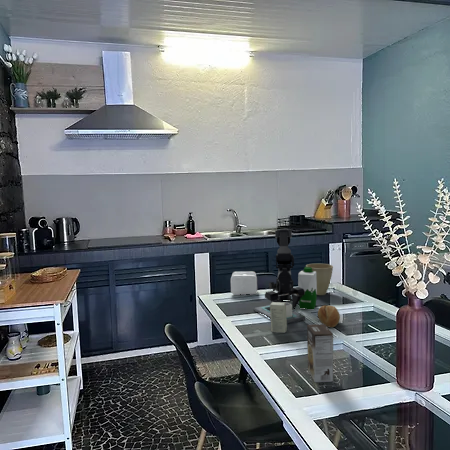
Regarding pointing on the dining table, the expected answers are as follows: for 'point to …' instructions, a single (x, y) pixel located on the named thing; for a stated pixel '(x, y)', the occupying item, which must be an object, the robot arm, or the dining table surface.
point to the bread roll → (328, 315)
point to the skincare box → (278, 317)
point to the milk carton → (308, 288)
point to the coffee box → (320, 352)
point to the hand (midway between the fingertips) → (285, 311)
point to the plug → (288, 309)
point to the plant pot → (322, 276)
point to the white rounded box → (244, 283)
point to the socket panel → (294, 318)
